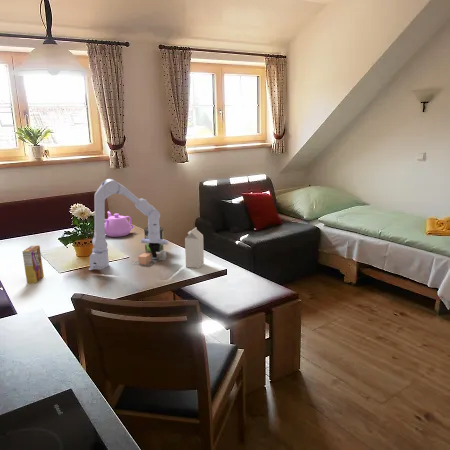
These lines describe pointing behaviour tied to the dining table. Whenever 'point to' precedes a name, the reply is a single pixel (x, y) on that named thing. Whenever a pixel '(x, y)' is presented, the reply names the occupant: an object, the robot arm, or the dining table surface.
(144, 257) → the cover
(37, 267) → the candy box
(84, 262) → the dining table surface
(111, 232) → the teapot
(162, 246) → the coffee can
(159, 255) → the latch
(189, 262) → the milk carton
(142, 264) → the board
